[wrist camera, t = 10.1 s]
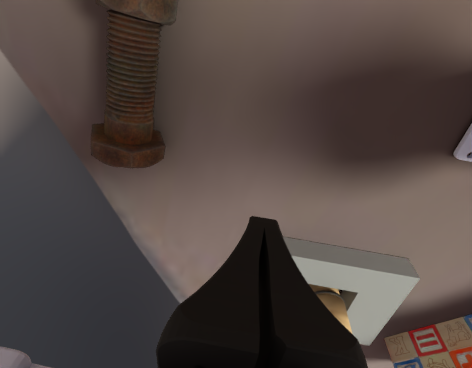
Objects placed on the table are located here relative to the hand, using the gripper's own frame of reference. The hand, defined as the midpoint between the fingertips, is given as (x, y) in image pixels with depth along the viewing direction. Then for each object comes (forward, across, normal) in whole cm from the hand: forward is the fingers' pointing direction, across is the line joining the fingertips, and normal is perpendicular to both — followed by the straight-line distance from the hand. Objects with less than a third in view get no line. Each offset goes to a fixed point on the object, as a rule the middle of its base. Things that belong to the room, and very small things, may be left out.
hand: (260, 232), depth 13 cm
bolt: (+10, +10, -7) cm, 16 cm away
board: (+10, -9, +15) cm, 20 cm away
